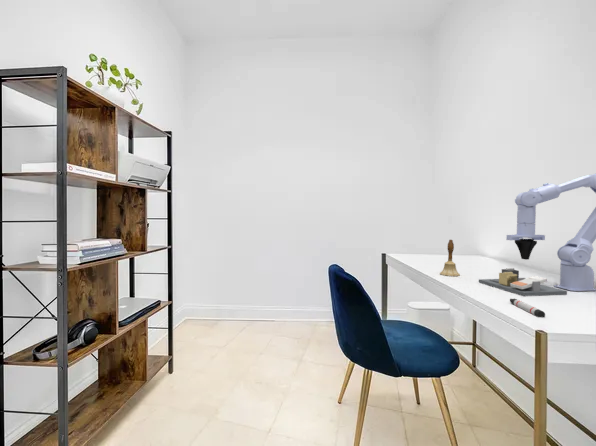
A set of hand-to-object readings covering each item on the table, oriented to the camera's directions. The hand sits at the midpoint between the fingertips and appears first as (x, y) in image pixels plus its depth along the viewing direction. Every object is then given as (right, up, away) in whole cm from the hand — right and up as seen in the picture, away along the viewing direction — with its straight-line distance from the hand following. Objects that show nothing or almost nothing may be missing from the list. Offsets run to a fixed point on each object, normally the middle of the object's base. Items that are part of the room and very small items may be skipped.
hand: (525, 259), depth 123 cm
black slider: (-3, -9, +5) cm, 10 cm away
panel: (-4, -11, -2) cm, 11 cm away
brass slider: (-8, -9, -3) cm, 13 cm away
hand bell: (-17, -10, +24) cm, 31 cm away
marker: (-20, -12, -29) cm, 37 cm away
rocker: (-6, -7, -10) cm, 13 cm away
